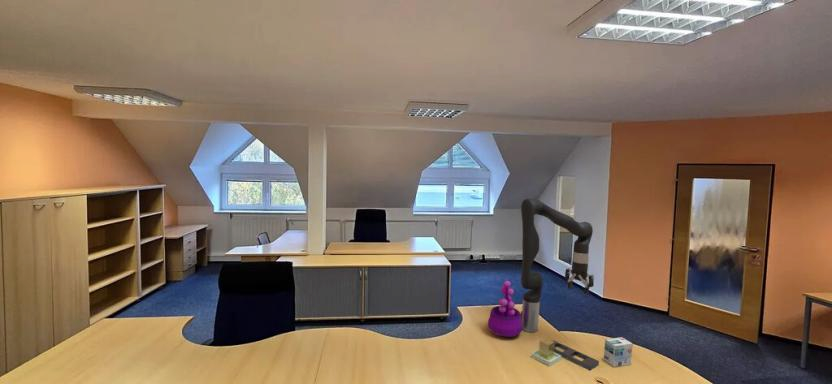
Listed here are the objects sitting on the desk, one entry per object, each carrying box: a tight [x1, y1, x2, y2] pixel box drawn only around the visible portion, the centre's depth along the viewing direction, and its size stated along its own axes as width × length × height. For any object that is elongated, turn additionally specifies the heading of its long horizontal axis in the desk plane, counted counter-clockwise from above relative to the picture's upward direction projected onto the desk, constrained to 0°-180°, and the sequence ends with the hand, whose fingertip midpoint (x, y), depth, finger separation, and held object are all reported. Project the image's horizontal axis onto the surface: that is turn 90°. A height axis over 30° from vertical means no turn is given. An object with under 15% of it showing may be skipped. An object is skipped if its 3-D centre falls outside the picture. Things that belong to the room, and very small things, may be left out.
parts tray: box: [530, 348, 562, 367], centre depth 181 cm, size 10×10×2 cm
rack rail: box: [552, 340, 600, 371], centre depth 184 cm, size 24×8×2 cm, turn 37°
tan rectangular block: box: [538, 337, 555, 361], centre depth 181 cm, size 5×5×8 cm
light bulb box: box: [603, 336, 634, 368], centre depth 179 cm, size 11×7×11 cm, turn 105°
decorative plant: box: [487, 280, 523, 338], centre depth 205 cm, size 19×18×30 cm
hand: (577, 291), depth 190 cm, fingers open, 8 cm apart
